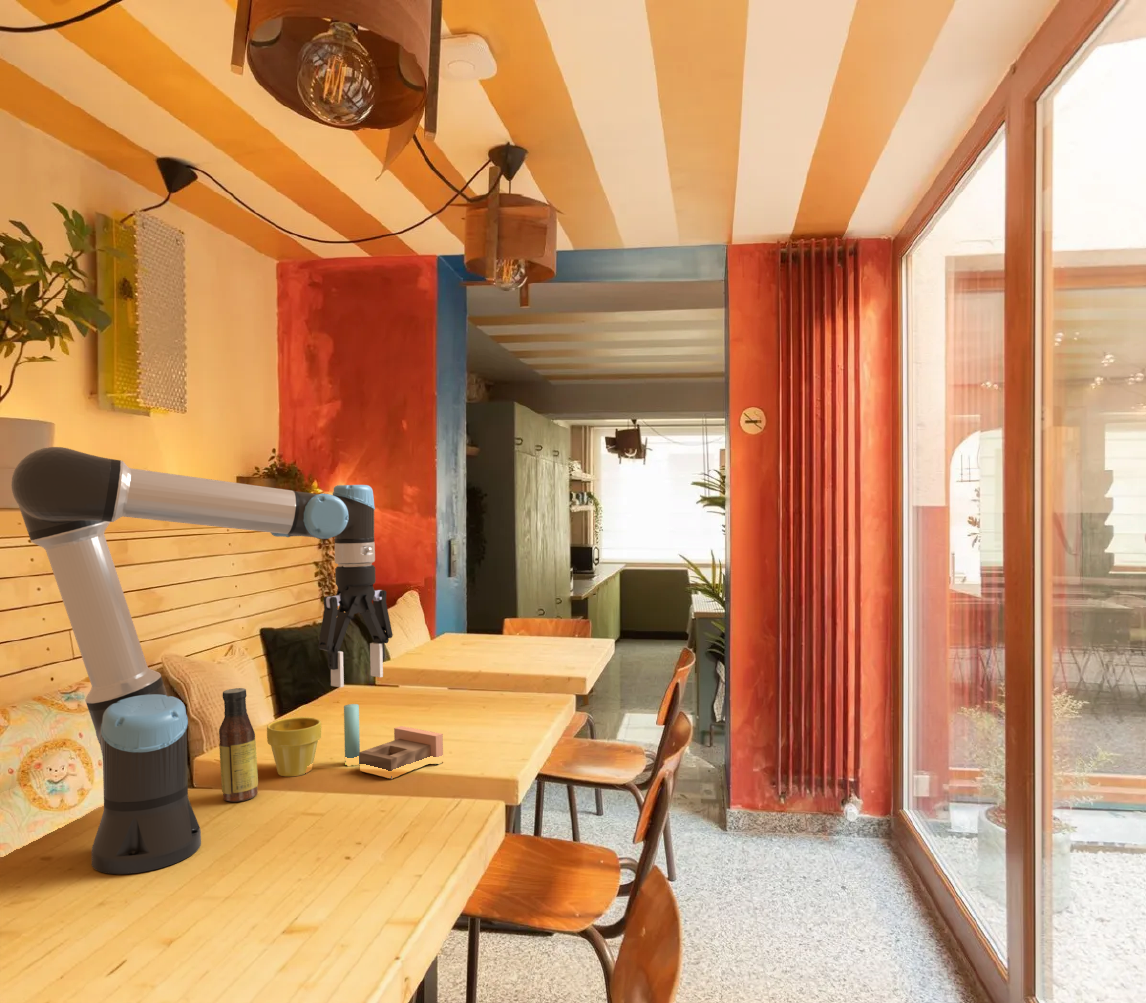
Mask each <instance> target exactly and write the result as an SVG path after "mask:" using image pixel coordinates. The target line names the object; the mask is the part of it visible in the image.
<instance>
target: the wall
mask: <svg viewBox="0 0 1146 1003" xmlns="http://www.w3.org/2000/svg"><path fill="white" fill-rule="evenodd" d="M393 730H394V731H393V733H394V734H393V735H394V736H393V737H394V739H393V741H394V740H397V739H404V740H409V741H414V742H419V743H424V744H428V745H431V756H433V757H439V756H442V755H443V756H444V741H443V740H444V739H443V735H444V734H443V733H440V732H434V731H429V730H424V729H418V728H413V727H409V726H402V725H400V726H397V727H393Z"/></svg>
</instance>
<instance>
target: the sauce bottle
mask: <svg viewBox="0 0 1146 1003" xmlns="http://www.w3.org/2000/svg"><path fill="white" fill-rule="evenodd" d="M247 695H248V694H247V689H246V688H243V687H238V688H237V687H236V688H230V689H226V690H223V691H222V700H223V703H224V704H223V705H224V712H223V714H224V717H223V720H222V723H221V724H220V727H219V729H218V733H219V734H218V735H219V744H218V746H219V749H218V750H219V762H220V763H219V765H220V777H221V779H220V782H221V783H220V784H221V792H222V794H223V795H222V796H223V800H224V801H225V802H232V803H236V802H244V801H245V802H246V801H248V800H250V799H253V798H255V797H256V796H257V795H258V786H259V778H258V777H259V775H258V774H259V773H258V772H259V771H258V763H257V762H258V759H257V758H258V757H257V745H256V743H257V742H256V733H255V731H254V727H253V725H252V723H251V720H250V718H249V714H248V710H247V704H246V703H247V702H246V701H247V700H246V699H247V698H246V697H247Z"/></svg>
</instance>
